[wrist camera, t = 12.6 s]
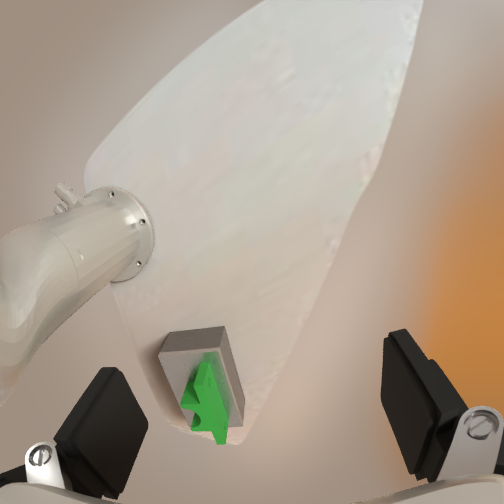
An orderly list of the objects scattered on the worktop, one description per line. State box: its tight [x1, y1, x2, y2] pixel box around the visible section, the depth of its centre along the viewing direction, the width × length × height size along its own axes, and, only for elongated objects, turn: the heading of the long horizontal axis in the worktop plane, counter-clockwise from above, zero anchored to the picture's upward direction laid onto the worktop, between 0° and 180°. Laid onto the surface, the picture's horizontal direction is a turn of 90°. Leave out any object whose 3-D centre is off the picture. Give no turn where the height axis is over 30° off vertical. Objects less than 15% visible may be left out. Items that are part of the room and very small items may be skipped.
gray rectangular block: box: [158, 326, 245, 428], centre depth 40 cm, size 14×8×6 cm, turn 11°
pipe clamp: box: [180, 362, 229, 444], centre depth 35 cm, size 11×4×5 cm, turn 10°
